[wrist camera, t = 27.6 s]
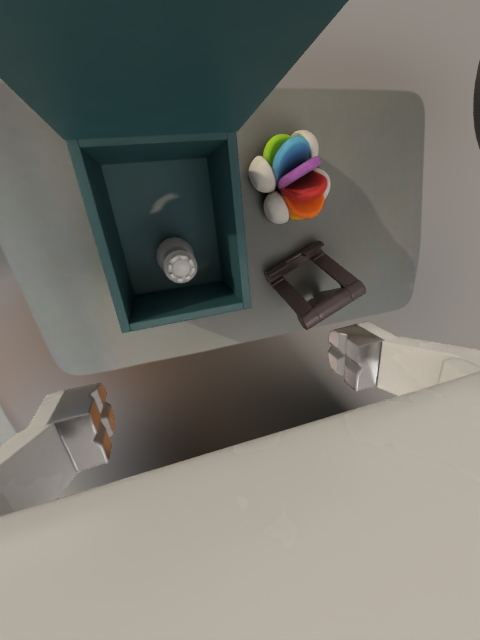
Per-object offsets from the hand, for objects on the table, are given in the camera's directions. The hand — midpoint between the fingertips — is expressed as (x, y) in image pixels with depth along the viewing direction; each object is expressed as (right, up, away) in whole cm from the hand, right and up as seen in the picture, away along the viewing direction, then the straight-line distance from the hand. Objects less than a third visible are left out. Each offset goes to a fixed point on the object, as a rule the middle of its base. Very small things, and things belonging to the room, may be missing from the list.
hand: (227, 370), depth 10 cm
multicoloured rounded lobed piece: (+6, +19, +25) cm, 32 cm away
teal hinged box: (-8, +13, +23) cm, 28 cm away
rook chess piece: (-7, +10, +24) cm, 27 cm away
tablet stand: (+9, +8, +31) cm, 33 cm away
